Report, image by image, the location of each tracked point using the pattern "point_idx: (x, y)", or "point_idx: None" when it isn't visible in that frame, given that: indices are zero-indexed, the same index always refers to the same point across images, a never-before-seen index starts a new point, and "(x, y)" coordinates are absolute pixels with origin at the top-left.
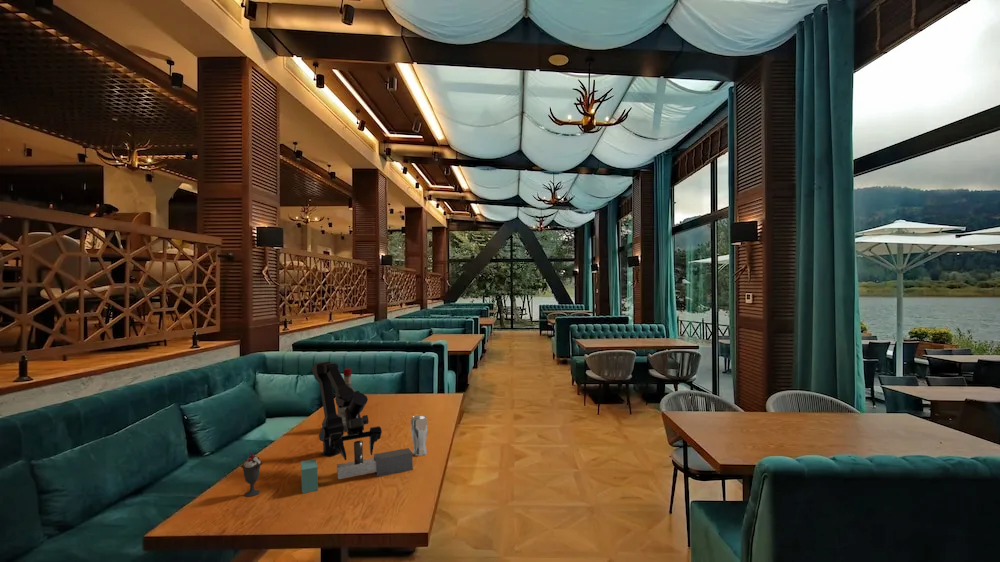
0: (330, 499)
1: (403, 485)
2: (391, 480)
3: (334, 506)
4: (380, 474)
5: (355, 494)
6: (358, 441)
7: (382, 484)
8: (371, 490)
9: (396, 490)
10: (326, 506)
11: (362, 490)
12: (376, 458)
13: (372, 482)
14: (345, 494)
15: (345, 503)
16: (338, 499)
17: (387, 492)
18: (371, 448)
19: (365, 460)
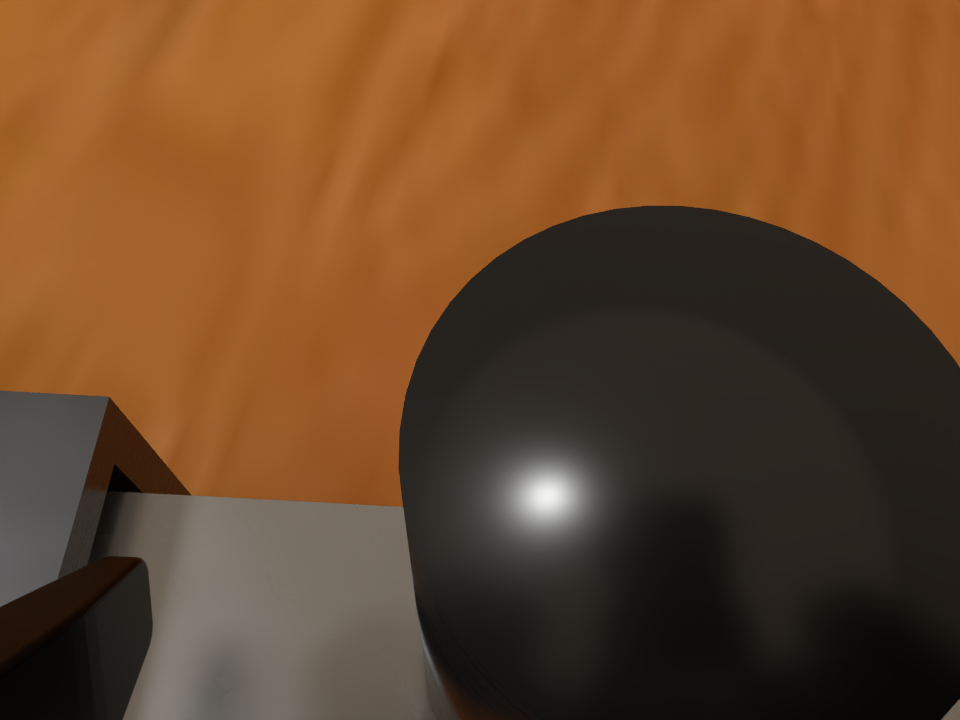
0: (927, 167)
1: (55, 83)
2: (97, 286)
3: (862, 16)
4: None
5: (638, 144)
6: (671, 561)
7: (260, 231)
8: (441, 147)
9: (189, 19)
10: (945, 50)
11: (543, 198)
12: (84, 455)
13: (359, 363)
14: (755, 199)
15: (754, 19)
16: (833, 125)
17: (294, 25)
18: (3, 638)
19: (337, 715)
